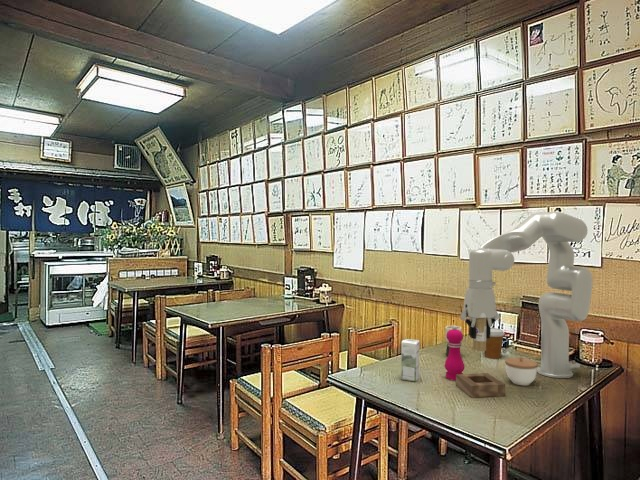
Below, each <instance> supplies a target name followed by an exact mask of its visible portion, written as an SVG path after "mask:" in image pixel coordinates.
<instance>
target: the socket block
mask: <svg viewBox="0 0 640 480" xmlns="http://www.w3.org/2000/svg"><path fill="white" fill-rule="evenodd" d="M455 386H456V387H457V386H458V387H457V388H459V389H460V390H461V391H463V392H464V393H465V394H466V395H467V396H468V397H470V398H471V399H475V398H491V397H492V398H495V397H506V383H504V382H502V381H501V380H499V379H498V378H496V377H495V376H493V375H492V374H490V373H489V372H481V373H463V374H456V380H455Z"/></svg>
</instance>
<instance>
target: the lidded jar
mask: <svg viewBox="0 0 640 480" xmlns="http://www.w3.org/2000/svg"><path fill="white" fill-rule="evenodd" d="M504 362H505V371H506V375H507V377H508V379H509V380H510V381H511V382H512V383H513V384H515V385H517V386H530V385H531V383H532V382H534V380H535V379H536V377H537V373H538V372H537V367H538V363H537V362H536V361H534V360H532V359H529V358H523V356H519V357H509V358H506V359H505V361H504Z"/></svg>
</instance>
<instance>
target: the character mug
mask: <svg viewBox="0 0 640 480" xmlns="http://www.w3.org/2000/svg"><path fill="white" fill-rule="evenodd" d="M453 326H454V325H446V326H445V328H444V340H445V342H447V344H446V351H445V355H446V356H448V355H449V346H448V342H449V341H448V339H447V337H446V335H447V332H448V331H449V330H451V329H452V327H453ZM456 326H457V330H459V331H461V332H462V333H463V330H462V329H463V328H462V327H461V326H460V325H459V326H458V325H456ZM460 355H461V353H460ZM461 356H462V355H461Z"/></svg>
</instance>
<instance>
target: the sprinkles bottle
mask: <svg viewBox="0 0 640 480" xmlns="http://www.w3.org/2000/svg"><path fill="white" fill-rule="evenodd" d="M475 327H476V338H475V339H473V338H472V350H474V351H478V352H485V350H486V315H485V313H482V314H481V315H480V318H476V321H475Z"/></svg>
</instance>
